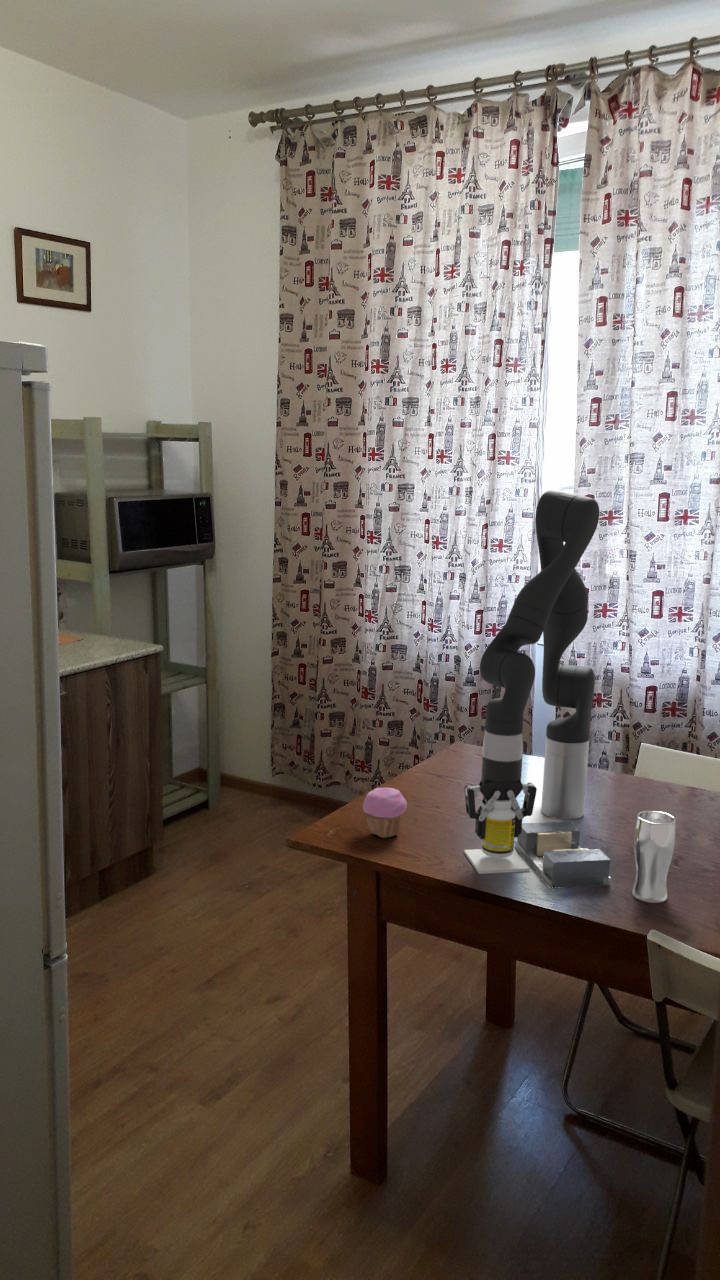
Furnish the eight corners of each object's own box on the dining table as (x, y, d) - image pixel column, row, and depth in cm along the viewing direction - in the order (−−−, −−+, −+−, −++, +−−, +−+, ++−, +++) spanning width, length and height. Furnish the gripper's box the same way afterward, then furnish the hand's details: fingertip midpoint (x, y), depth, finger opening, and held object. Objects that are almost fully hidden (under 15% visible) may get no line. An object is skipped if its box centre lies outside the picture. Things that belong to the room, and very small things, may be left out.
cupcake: (413, 835, 205) (415, 789, 203) (384, 846, 199) (385, 799, 197) (382, 823, 211) (384, 778, 209) (353, 833, 205) (354, 787, 203)
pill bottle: (516, 858, 190) (520, 803, 188) (484, 859, 189) (487, 803, 187) (509, 845, 196) (512, 792, 194) (478, 846, 196) (481, 792, 193)
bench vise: (515, 847, 201) (516, 823, 200) (570, 844, 203) (572, 821, 202) (549, 888, 182) (551, 862, 181) (610, 884, 184) (612, 859, 183)
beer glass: (652, 907, 175) (660, 827, 173) (621, 893, 181) (628, 814, 178) (677, 898, 179) (685, 819, 177) (646, 884, 185) (652, 807, 182)
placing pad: (464, 852, 197) (464, 849, 197) (512, 850, 199) (512, 847, 199) (479, 873, 187) (479, 870, 187) (529, 871, 189) (529, 868, 189)
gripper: (531, 746, 194) (526, 828, 197) (460, 748, 191) (456, 831, 195) (545, 758, 187) (540, 842, 190) (471, 761, 184) (467, 846, 187)
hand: (497, 836), depth 192 cm, fingers closed on pill bottle, 6 cm apart
